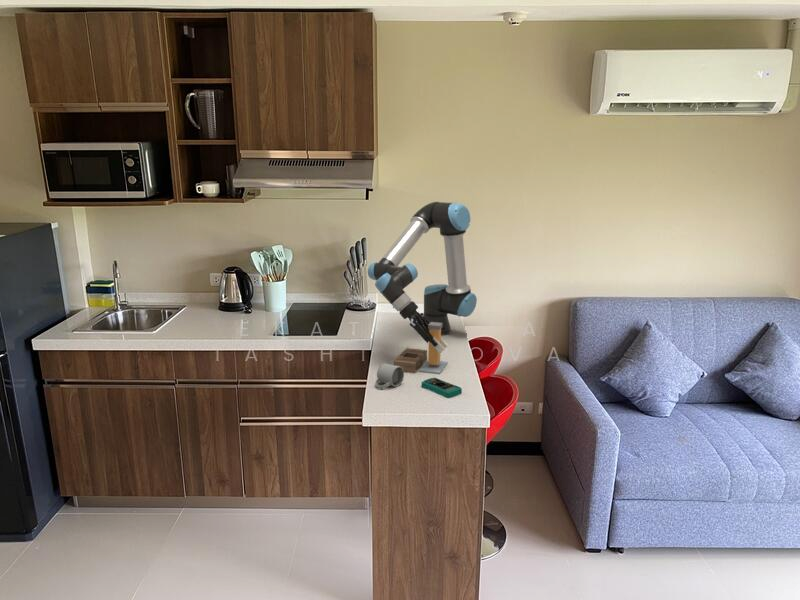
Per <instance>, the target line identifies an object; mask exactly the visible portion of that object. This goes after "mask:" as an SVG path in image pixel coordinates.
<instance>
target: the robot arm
mask: <svg viewBox="0 0 800 600" xmlns="http://www.w3.org/2000/svg"><path fill="white" fill-rule="evenodd" d="M470 223H471V214H470V210H469V208H468V207H466V205H465V204H462V203H458V202H443V201H433V202H429V203H427V204H425V205H424V206H422V207H421V208H420V209H419V210H417V211H416V212H415V213H414V215H412V217H411V218H410V221H409V223H408V226H406V228H405V229H404V230H403V231H402V232H401V234H400V235H399V236H398V238H397V239H396V240H395V241H394V242H393V244H392V245H391V247H390V248H389V249H388V250H387V251H386V252H385V254H384V255H383V257H381V259H380V260H379V261H378V262H372V263H370V264H369V265H368V268H367V276H368V277H369V279H371V280H374V281H375V283H374V286H375V288H376V289H377V290H378V292H379V293H380V294H381V295H382V296H383V297H384V298H385V300H387V301H388V302H389V304H390V305H391V306H392V308H393V309H395V311H396V312H399V315H400V316H401V317H402V318H403V320H406V319H407V318H408V319H409V321H410V322H409V325H410V326H409V327H412V328H413V330H415V331H416V332H417V334H418V335H419V336H420V337H421V338H422V339H423V340H424V341H425V342H426V343H428V344H429V342H430V343H431V344H432V345H433V347H434V348H435V349H436V350H437V351H438V352H439V353H440V354H442V353H443V352H444V351H445V350H446V348H447V347H448V344H447V343H446V342H445V341H444V340H443V338H441V344H440V343H439V342H438V341H437V339H436V338H435V337H434V338H433V336H432V335H431V334H430V332H429V329H428V324H429V323H430V322H437V323H443V326H442V328H441V334H445V335H448V334H450V333H451V325H450V321H449V317H448V315H451V316H457V317H463V318H467V317H469V316H471V315H472V314H473V313H474V311H475V309H476V306H477V299H478V298H477V295H476V294H475V293H473V292H472V289H471V285H469V284H468V282H467V270H466V257H465V246H464V235H465V233H466V232H467V229H468V228H469V226H470V225H471V224H470ZM433 228H435V229H436V228H437V229H439V234H440V236H442V237H443V243H444V253H445V261H446V262H445V264H446V273H447V274H446V275H447V282H448V284H443V283H441V284H431V285H427V286H426V287H424V292H423V312H421V313H420V312H419V311H417V309H419V306H418V304H416V302H414V301H413V300H412V298H411V297H410V296H409V295H408V294H407V292H406V291H405V290H404V289H405V288H407V287H408V286H410V284H411V283H413V282H414V281H415V280H416V278H418V275H419V274H418V273H419V272H418V269H417V267H416V266H415V265H414V264H412V263H410V262H409V263H406V264H404V265H402V266H399V265H400V264H401V262H403V260H405V257H406V256H407V255H408V254H409V253H410V251H411V250H412V249H413V248H414V246H415V245H416V243H417V242H418V241H419V240H420V238H421V237H422V236H423V235H424V234H427V233H428V232H429V231H430V230H431V229H433ZM449 332H450V333H449ZM447 333H448V334H447Z"/></svg>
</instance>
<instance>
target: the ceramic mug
mask: <svg viewBox="0 0 800 600" xmlns="http://www.w3.org/2000/svg"><path fill="white" fill-rule="evenodd" d="M404 378H405V372H404V371H403V369H402V367H400V366H395V365H394V364H388V363H387V364H386V363H384V364H381V365H380V366H379V367H378V368H377V371H376V379H375V381H374V384H375V387H376V388H377V389H379V388H380V389H379V390H384V389H387V388H389V387H390V386H391V387H395V388H397V386H398V387H399V386H401V385H402V383H403V381H404ZM379 383H382V385H379Z"/></svg>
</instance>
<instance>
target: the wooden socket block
mask: <svg viewBox="0 0 800 600" xmlns="http://www.w3.org/2000/svg"><path fill="white" fill-rule="evenodd" d="M427 361H428V350H427V349H419V348H412V347H406V348H405V349H404V350H403V351H402V352H401V353H400V354H399V355H398V356H397V357H396V358H395V359H393V365H395V366H400V367H402V369H403V371H404V373H410V374H416V373H417V371H419V369H420V368H422V367H423V364H424V363H425V362H427Z"/></svg>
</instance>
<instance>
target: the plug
mask: <svg viewBox="0 0 800 600" xmlns="http://www.w3.org/2000/svg"><path fill="white" fill-rule="evenodd" d="M442 326H443V323H437V322H430V323H429V324H428V329H429V332H430V334H431V335H432V336H433V338H434V337H435V338H436V339H437V341H438V342H439V343H440V344H441V339H442V335H441V328H442ZM440 361H441V353H439V352H438V351H437V350H436V349H435V348H434V347H433V345H432V344H431V343H430V342H428V352H427V362H428V364H431V365H438V364H439V363H440Z"/></svg>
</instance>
